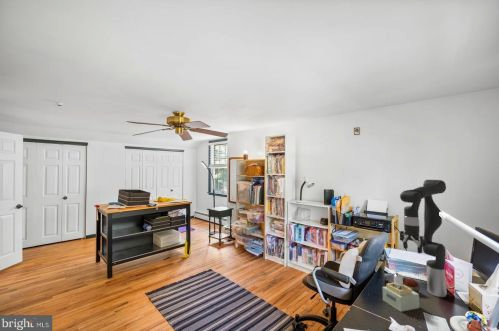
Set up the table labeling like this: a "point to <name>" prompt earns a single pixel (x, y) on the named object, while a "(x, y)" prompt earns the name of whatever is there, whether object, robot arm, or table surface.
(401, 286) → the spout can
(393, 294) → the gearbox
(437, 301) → the table surface
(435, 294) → the robot arm
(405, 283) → the figurine
